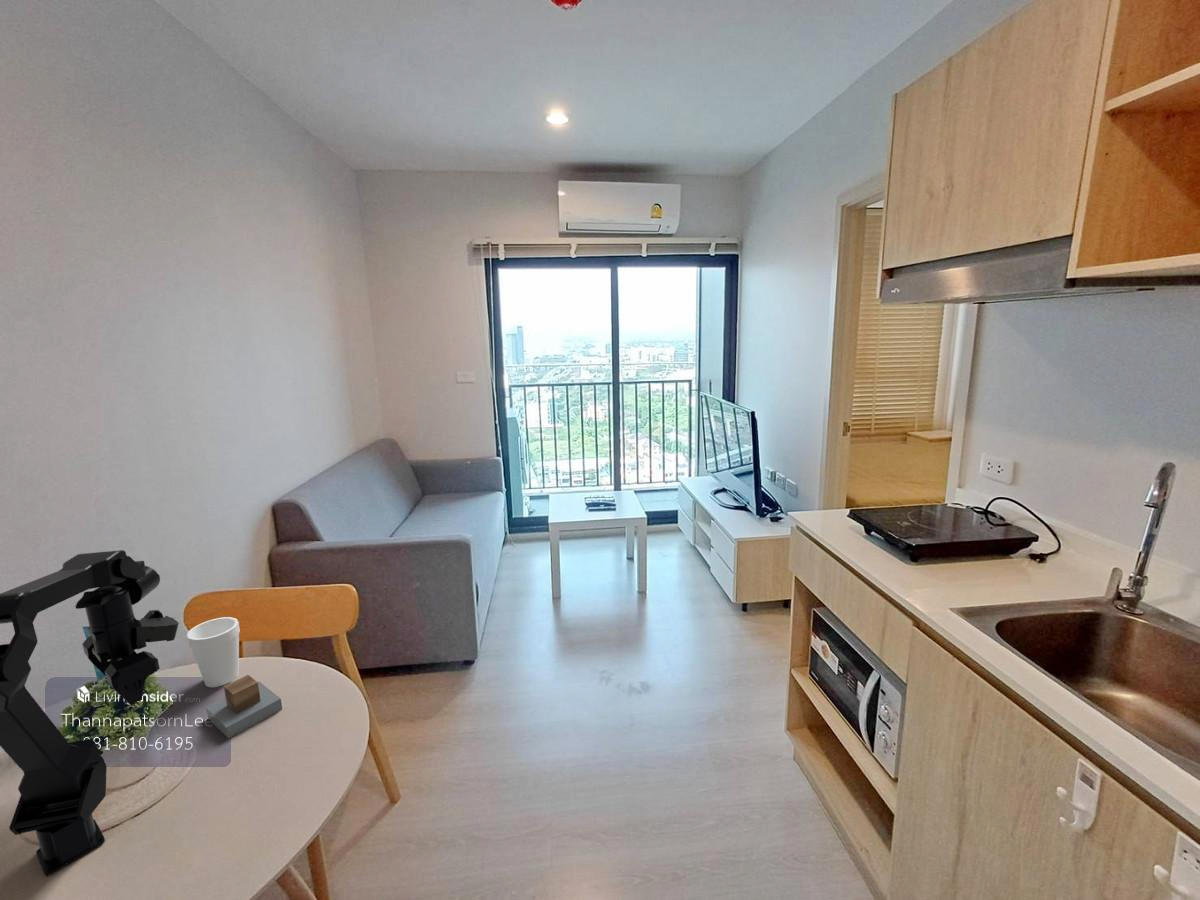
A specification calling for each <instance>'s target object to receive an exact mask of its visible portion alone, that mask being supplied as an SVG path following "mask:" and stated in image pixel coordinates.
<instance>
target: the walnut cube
mask: <svg viewBox="0 0 1200 900" xmlns="http://www.w3.org/2000/svg"><path fill="white" fill-rule="evenodd" d="M258 682H259V681H257V680H256V679H254V678H253V677H252V676H251V675H250V674H247V675H244V676H243V677H240V678H238V679H235V680H233V681H231V682H229V683H227V684H225V685H223V689H224V696H225V698H226V702H227V706H228V707H230V708H231V709H232V710H233V711H234V712H235V713H236V714H237V713H239V712H241V711H243V710H245V709H246V708H248V707H250V706H252V705H254V704H256V703H258V702H260V701H261V700H260V694H259V687H258Z"/></svg>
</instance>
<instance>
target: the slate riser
mask: <svg viewBox="0 0 1200 900" xmlns="http://www.w3.org/2000/svg"><path fill="white" fill-rule="evenodd" d="M257 682H258V687H259V694H260V700H261V701H260V702H258V703H256V704H254V705H252V706H250V707H248V708H246V709H245V710H243V711H241V712H239V713H237V714H236V713H235V712H234V711H233V710H232V709H231V708H230V707H228V706H227V702H226V697H225V698H223V699H221V700H219V701H216V702H215V703H212V704H210V705H208V706H207V707H205V709H206V716H207V719H208V720H210V721H209V722H211V723H212V724H213V725H214V726H215V727H216V728H217V729H218V730H219V731H220V732H221V733H222V734H223V735H224V736H225V737H226V738H227V739H230V738H232V737H233V736H235V735H237V734H239V733H241V732H243V731H244V730H246V729H248V728H250V727H252V726H254V725H255V724H257V723H259V722H261V721H263V720H265V719H266V718H268V717H270V716H271V715H273V714H275V713H277V712H279V711H281V710H282V709H283V703H282V699H281V697H279V696H278V695H277V694H276V693H275V692H273V691H272V690H271V689H269V688H268V687H267V686H266V685H264V684H263V683H262V682H261V681H257Z"/></svg>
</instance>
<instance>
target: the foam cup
mask: <svg viewBox="0 0 1200 900" xmlns="http://www.w3.org/2000/svg"><path fill="white" fill-rule="evenodd" d="M240 632H241V629H240V622H239V621H238V619H237V618H234V617H232V616H228V617H227V616H223V617H219V618H218V617H217V618H214V619H209V620H206V621H204V622H202V623H199V624H197V625H195V626H194V627H192V628H190V629H189V631H188V632H187V633H186V638H187V642H188V646H189V648H190V649H191V651H192V653H193V656H194V658H195V661H196V664H197V666H198V669H199V672H200V674H201V677H202V680H203V683H204V685H205V687H208V688H218V687H221V686H225V685H227V684H229V683H232V682H234V681H235V680H236V678H238V675H239V669H240V668H239V666H240V665H239V662H240V660H239V659H240V654H239V653H240Z"/></svg>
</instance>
